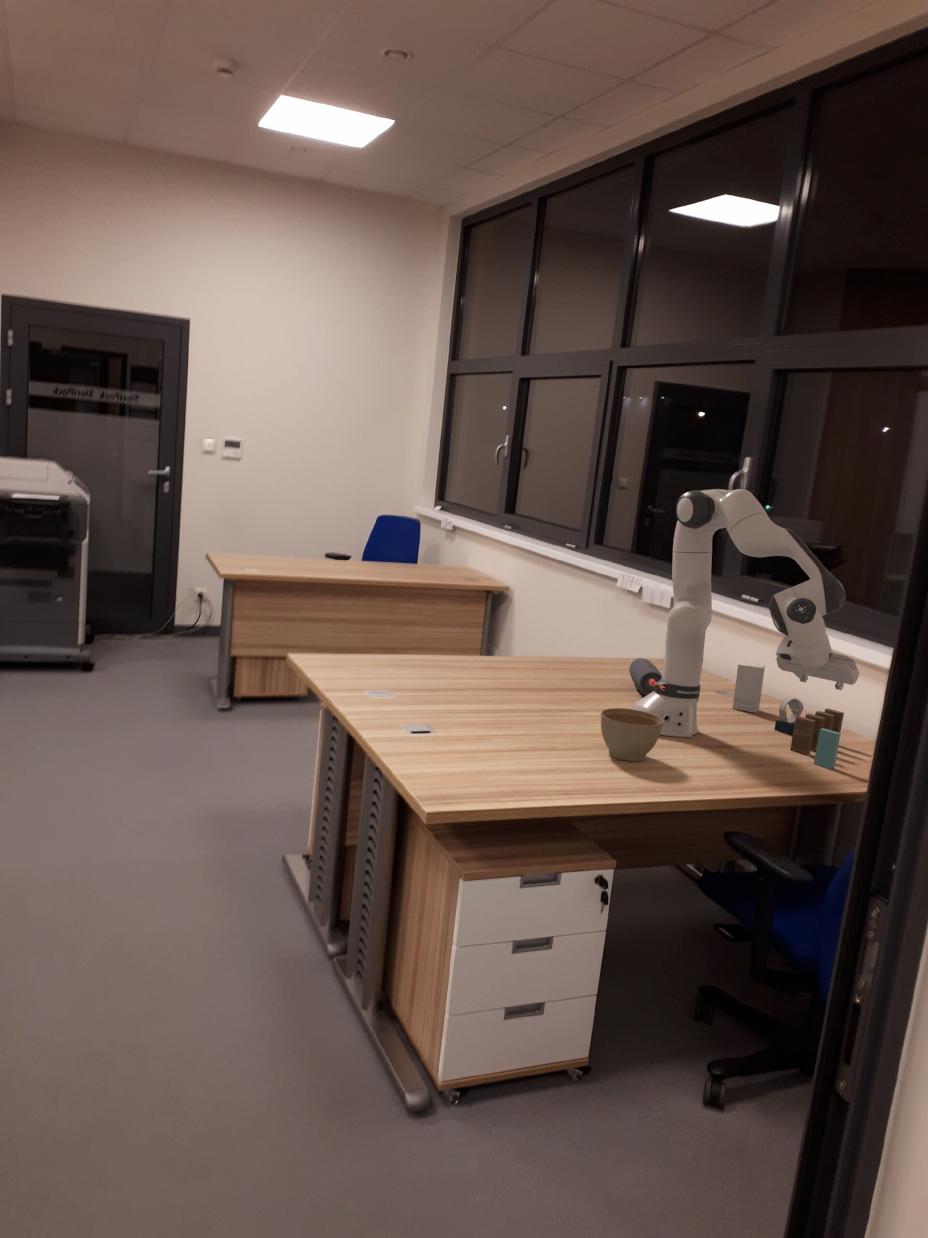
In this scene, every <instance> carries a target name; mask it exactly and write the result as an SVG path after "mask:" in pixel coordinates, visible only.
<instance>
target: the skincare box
mask: <svg viewBox="0 0 928 1238" xmlns="http://www.w3.org/2000/svg"><path fill="white" fill-rule="evenodd" d="M765 667H766V664H759V663H755V662H753V663H752V662H747V661H740V662H738V664H737V670H736V671H737V672H736V677H735V678H736V679H735V685H734V693H733V702H732V708H731V709H732V710H737V711H742V712H743V711H744V712H749V713H755V714H757V713H758V711H759V710H760V705H761V696H762V691H763V683H764V676H765Z"/></svg>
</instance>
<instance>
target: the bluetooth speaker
mask: <svg viewBox="0 0 928 1238" xmlns="http://www.w3.org/2000/svg"><path fill="white" fill-rule="evenodd" d="M628 669H629V670H628V671H629V677H630V678H631V679H632V683H633V684H634V685H635V686H636V688H638V689H637V690H638V691H639V693H640V694H641V695H645V696H647V695H649V694H650V693H652V692H653V691H655V690H654V689H655V687H652V686H651V685H649V682H650V679H654V680H655V681H657V682H658V681H659V680H660V679H661V678H662V673H661V672H660V671H659V669H658V668H657V666H655V665H654V663H653V662H651V661H650V660H648V658H644V657H639V658H635V659H634V660H633V661H632V662H631V663H630V665H629V668H628Z"/></svg>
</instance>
